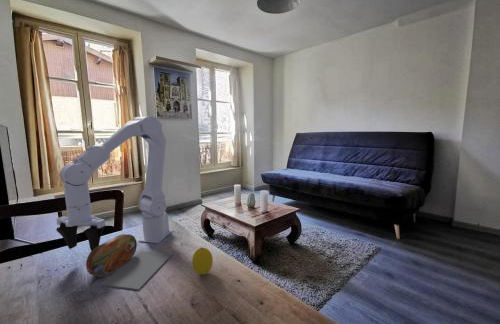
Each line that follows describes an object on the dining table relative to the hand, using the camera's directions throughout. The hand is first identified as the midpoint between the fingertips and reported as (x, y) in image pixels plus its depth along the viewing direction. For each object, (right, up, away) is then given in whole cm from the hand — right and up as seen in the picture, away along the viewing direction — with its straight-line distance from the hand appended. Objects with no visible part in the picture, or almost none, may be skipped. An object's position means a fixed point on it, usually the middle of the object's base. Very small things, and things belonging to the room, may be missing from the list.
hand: (83, 248), depth 72 cm
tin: (+10, -5, -1) cm, 11 cm away
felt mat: (+18, -5, -2) cm, 19 cm away
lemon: (+37, -6, -5) cm, 37 cm away
